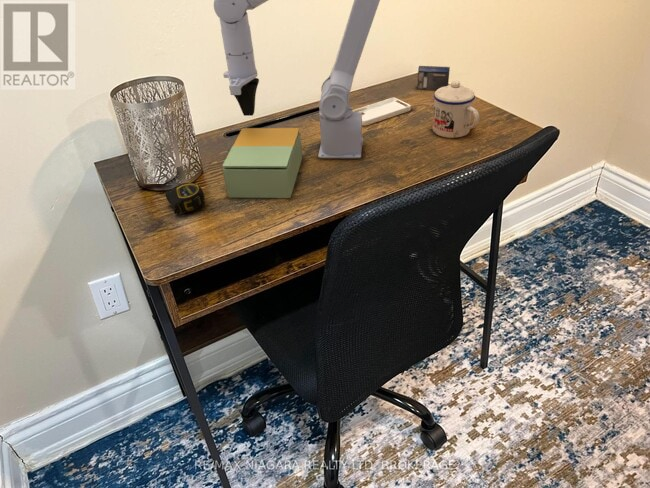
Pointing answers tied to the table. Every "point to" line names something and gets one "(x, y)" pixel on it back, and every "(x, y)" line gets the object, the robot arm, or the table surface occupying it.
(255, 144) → the lid
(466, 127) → the teacup with lid
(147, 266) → the table surface
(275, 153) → the green open box
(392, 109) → the phone case
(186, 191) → the tape measure
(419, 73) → the mini dv tape
